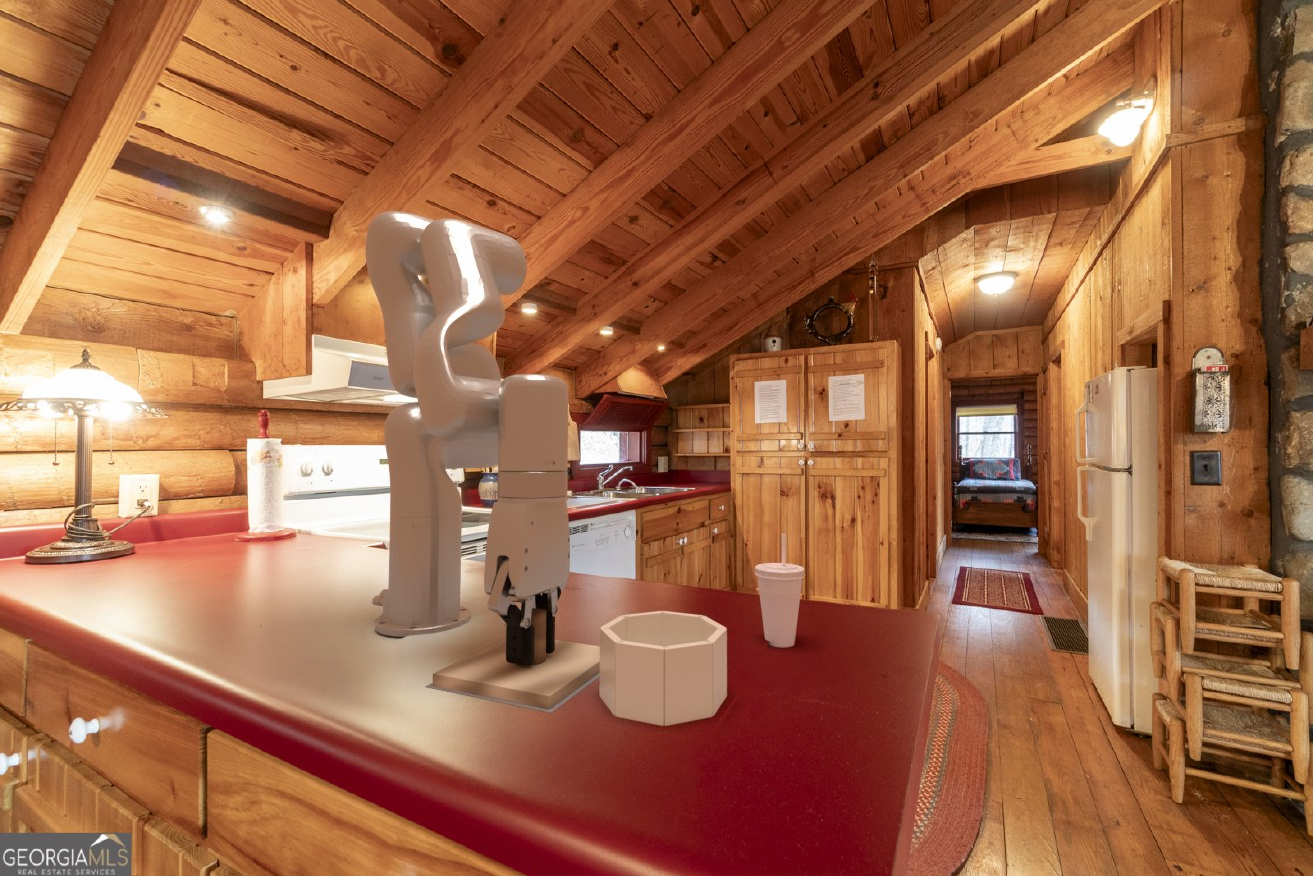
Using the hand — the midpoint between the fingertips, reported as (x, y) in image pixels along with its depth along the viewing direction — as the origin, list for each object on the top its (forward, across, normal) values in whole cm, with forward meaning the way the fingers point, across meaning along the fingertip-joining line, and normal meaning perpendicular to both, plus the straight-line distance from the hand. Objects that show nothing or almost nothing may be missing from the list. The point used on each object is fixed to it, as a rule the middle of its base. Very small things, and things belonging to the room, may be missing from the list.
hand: (530, 655), depth 61 cm
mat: (+2, 0, 0) cm, 2 cm away
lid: (+2, 0, 0) cm, 2 cm away
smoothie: (+2, -22, +23) cm, 32 cm away
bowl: (+2, 0, +16) cm, 16 cm away
